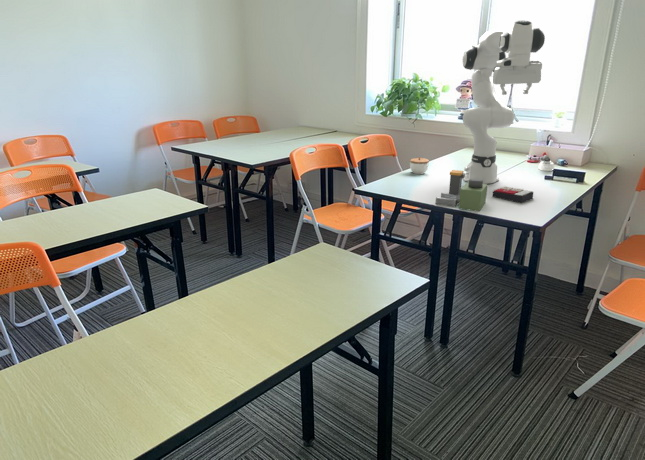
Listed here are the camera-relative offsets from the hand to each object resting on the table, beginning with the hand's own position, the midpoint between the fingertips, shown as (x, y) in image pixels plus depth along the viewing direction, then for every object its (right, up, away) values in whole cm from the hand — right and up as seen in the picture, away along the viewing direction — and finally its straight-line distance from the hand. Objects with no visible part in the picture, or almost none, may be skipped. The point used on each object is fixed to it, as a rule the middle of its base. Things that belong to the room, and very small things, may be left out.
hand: (514, 94), depth 210 cm
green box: (-18, -49, +4) cm, 53 cm away
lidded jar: (-30, -28, +64) cm, 76 cm away
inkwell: (+44, -26, +65) cm, 83 cm away
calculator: (+5, -46, +16) cm, 48 cm away
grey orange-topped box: (-22, -44, +19) cm, 53 cm away
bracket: (-27, -48, +9) cm, 56 cm away
